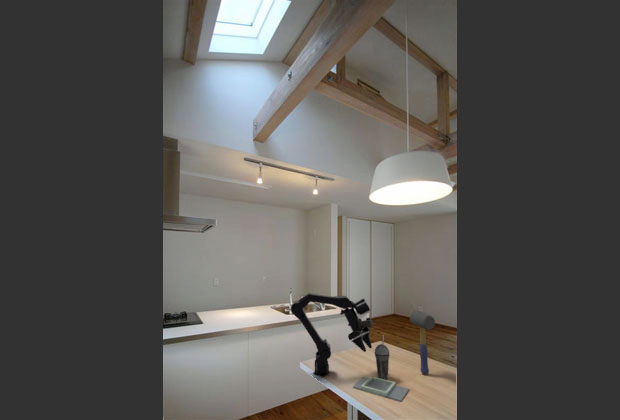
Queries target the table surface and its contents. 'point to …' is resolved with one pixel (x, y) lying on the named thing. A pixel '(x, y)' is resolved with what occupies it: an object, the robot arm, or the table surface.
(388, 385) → the socket board
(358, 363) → the table surface
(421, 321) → the rubber mallet
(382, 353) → the beverage cup
